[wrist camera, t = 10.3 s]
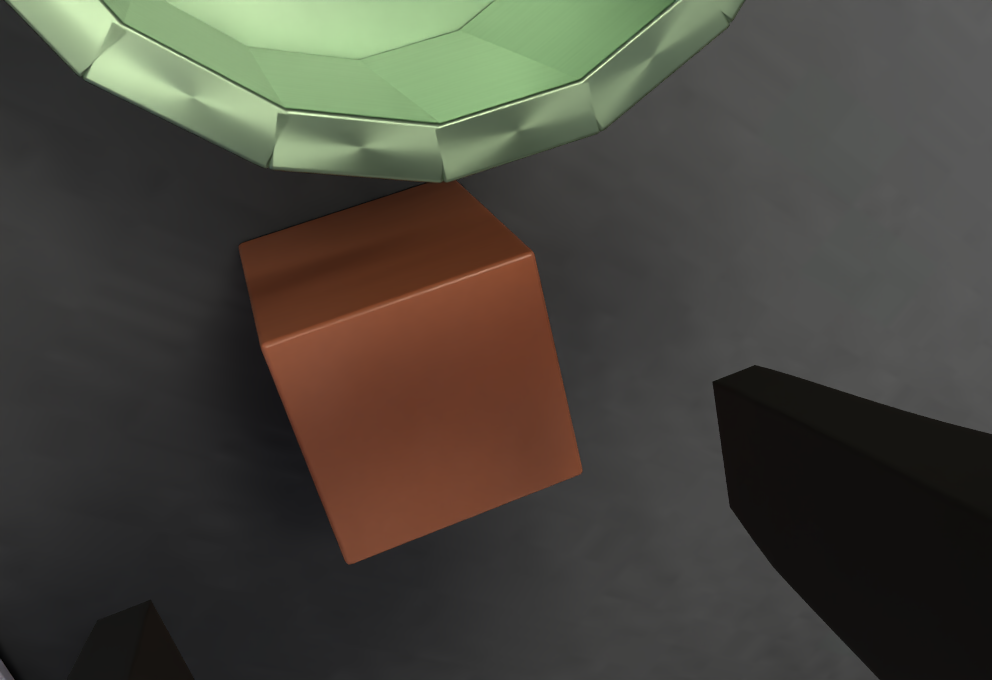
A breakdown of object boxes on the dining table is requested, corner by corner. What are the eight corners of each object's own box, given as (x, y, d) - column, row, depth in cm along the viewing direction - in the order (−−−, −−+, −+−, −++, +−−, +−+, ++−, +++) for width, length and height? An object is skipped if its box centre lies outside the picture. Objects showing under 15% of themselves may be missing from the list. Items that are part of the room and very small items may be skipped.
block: (499, 359, 21) (585, 475, 17) (308, 429, 21) (347, 567, 16) (451, 173, 19) (534, 250, 15) (236, 243, 18) (259, 345, 14)
